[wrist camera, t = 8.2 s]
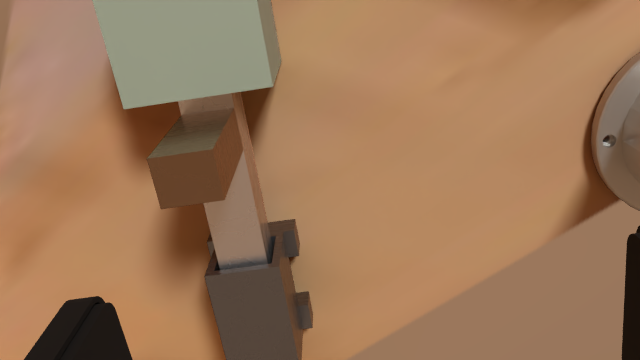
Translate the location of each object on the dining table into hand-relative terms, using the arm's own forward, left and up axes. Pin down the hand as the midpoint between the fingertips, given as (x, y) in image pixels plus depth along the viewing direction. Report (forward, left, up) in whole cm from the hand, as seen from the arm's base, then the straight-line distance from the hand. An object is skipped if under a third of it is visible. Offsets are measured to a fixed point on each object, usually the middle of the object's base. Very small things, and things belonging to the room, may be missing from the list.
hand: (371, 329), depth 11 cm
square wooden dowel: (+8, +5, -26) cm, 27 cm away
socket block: (+8, -3, -28) cm, 29 cm away
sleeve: (+8, +15, -28) cm, 33 cm away
